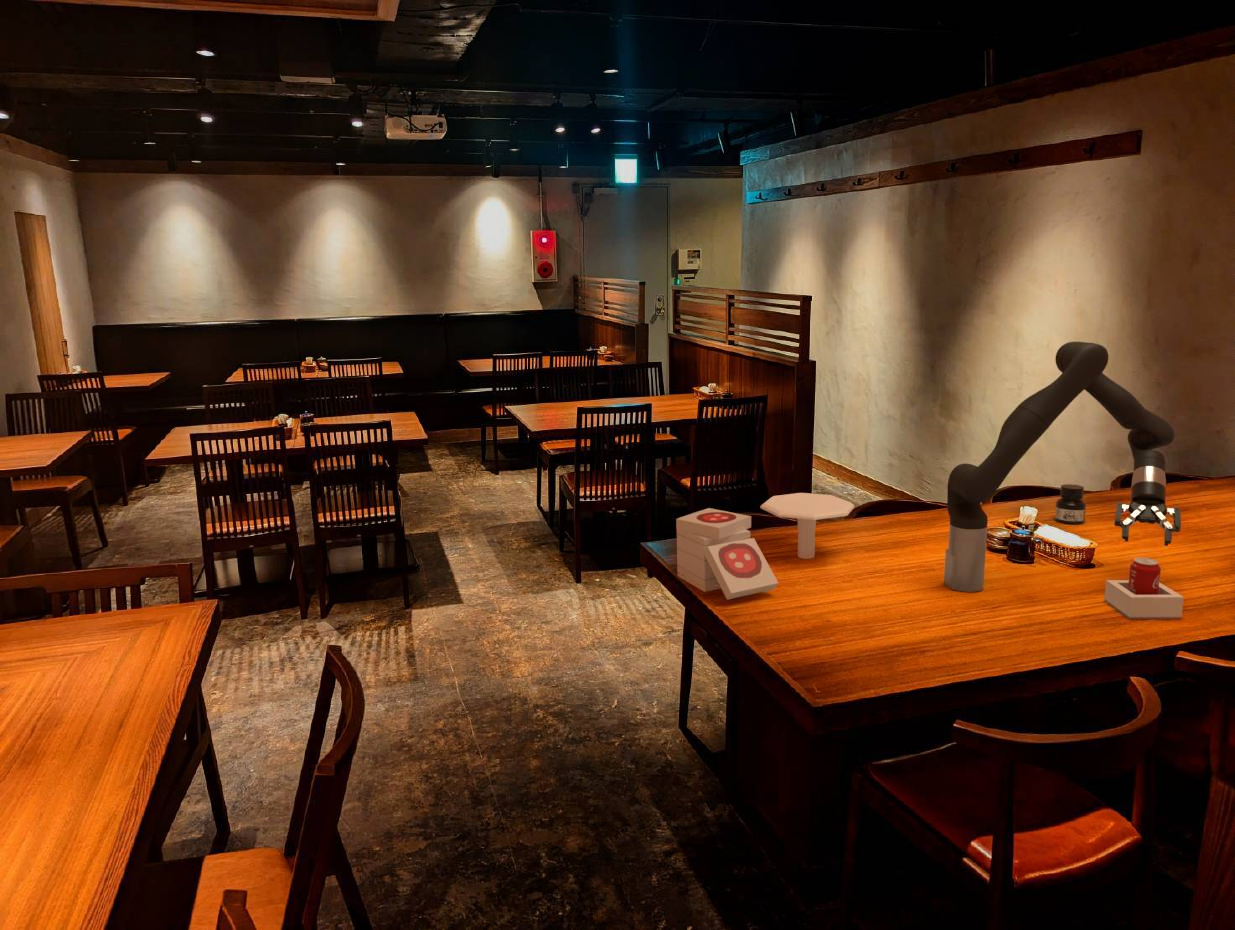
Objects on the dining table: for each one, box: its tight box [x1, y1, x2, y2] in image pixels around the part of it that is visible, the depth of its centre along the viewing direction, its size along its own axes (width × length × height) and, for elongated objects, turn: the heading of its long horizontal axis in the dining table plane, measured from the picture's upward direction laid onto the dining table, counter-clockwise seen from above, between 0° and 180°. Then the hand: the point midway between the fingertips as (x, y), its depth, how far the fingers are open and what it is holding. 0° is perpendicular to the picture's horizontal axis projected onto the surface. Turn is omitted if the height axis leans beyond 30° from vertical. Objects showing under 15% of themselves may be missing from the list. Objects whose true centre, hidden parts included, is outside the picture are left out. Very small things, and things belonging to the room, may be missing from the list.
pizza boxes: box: [675, 507, 779, 601], centre depth 233 cm, size 19×30×18 cm, turn 26°
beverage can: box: [1128, 557, 1162, 595], centre depth 208 cm, size 6×6×12 cm
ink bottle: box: [1054, 483, 1087, 525], centre depth 283 cm, size 10×9×12 cm
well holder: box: [1104, 579, 1185, 620], centre depth 208 cm, size 12×12×6 cm
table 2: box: [760, 492, 855, 560], centre depth 255 cm, size 28×28×17 cm
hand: (1146, 542), depth 212 cm, fingers open, 8 cm apart
